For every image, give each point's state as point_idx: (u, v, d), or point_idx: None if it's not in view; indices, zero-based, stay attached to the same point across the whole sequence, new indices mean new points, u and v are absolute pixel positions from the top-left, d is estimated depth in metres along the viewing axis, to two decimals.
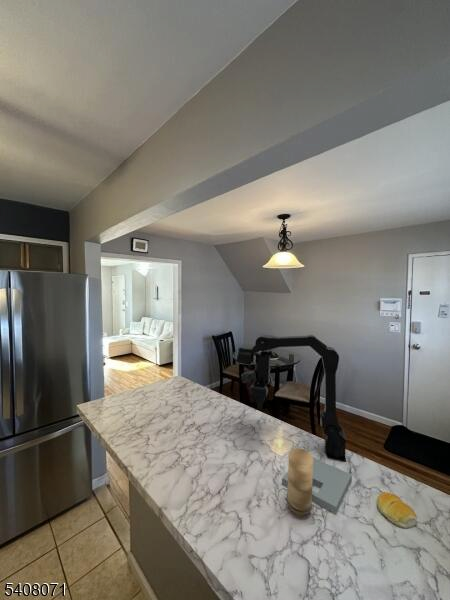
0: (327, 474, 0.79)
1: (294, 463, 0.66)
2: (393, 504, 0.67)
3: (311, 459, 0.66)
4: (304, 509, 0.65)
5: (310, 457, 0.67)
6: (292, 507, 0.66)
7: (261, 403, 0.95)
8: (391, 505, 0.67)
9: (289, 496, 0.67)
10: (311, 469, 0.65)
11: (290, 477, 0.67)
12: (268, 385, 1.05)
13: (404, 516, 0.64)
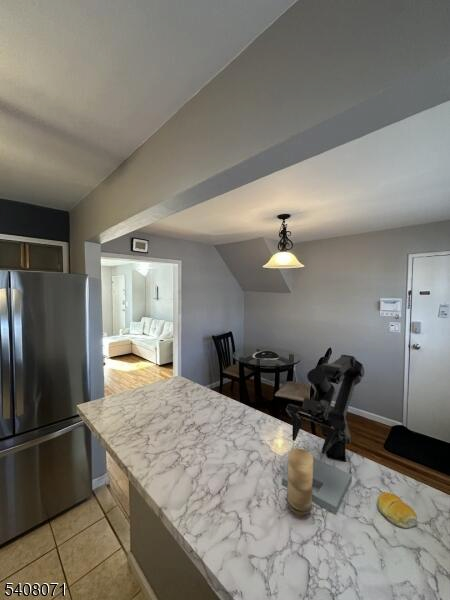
0: (327, 474, 0.79)
1: (294, 463, 0.66)
2: (393, 504, 0.67)
3: (311, 459, 0.66)
4: (304, 509, 0.65)
5: (310, 457, 0.67)
6: (292, 507, 0.66)
7: (329, 446, 0.73)
8: (391, 505, 0.67)
9: (289, 496, 0.67)
10: (311, 469, 0.65)
11: (290, 477, 0.67)
12: (300, 423, 0.82)
13: (404, 516, 0.64)
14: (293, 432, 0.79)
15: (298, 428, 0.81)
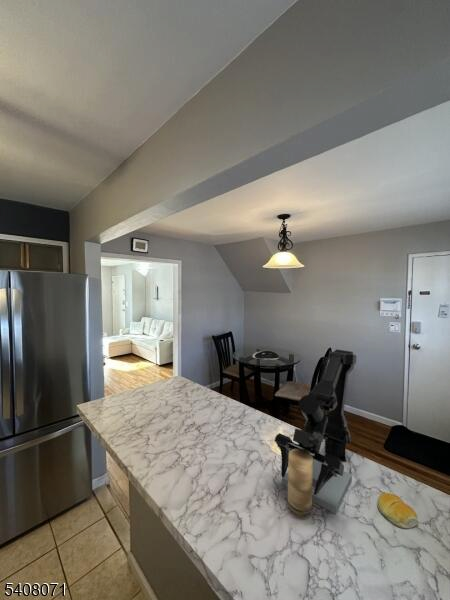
0: None
1: (294, 463, 0.66)
2: (394, 505, 0.67)
3: (311, 459, 0.66)
4: (304, 509, 0.65)
5: (310, 457, 0.67)
6: (292, 507, 0.66)
7: (322, 485, 0.65)
8: (392, 506, 0.67)
9: (289, 496, 0.67)
10: (311, 469, 0.65)
11: (290, 477, 0.67)
12: None
13: (405, 517, 0.64)
14: (282, 467, 0.71)
15: (287, 462, 0.73)
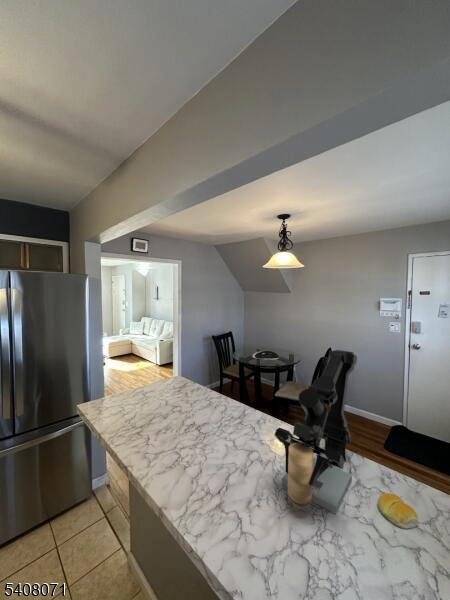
0: (327, 474, 0.79)
1: (294, 457, 0.65)
2: (394, 505, 0.66)
3: (311, 453, 0.66)
4: (304, 502, 0.65)
5: (310, 451, 0.67)
6: (292, 500, 0.66)
7: (317, 476, 0.66)
8: (392, 506, 0.67)
9: (289, 490, 0.67)
10: (311, 463, 0.65)
11: (290, 471, 0.66)
12: None
13: (405, 517, 0.63)
14: (286, 463, 0.70)
15: None
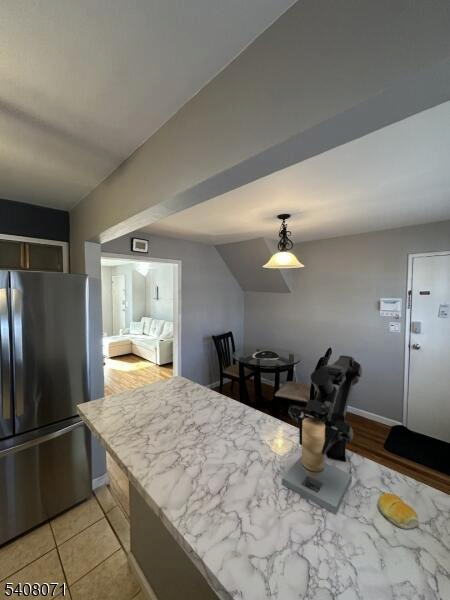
0: (327, 474, 0.79)
1: (308, 429, 0.72)
2: (394, 505, 0.66)
3: (323, 426, 0.73)
4: (317, 470, 0.72)
5: (322, 424, 0.74)
6: (306, 468, 0.73)
7: (329, 446, 0.73)
8: (392, 506, 0.66)
9: (303, 459, 0.74)
10: (323, 434, 0.72)
11: (304, 442, 0.73)
12: None
13: (406, 517, 0.63)
14: (300, 436, 0.77)
15: None
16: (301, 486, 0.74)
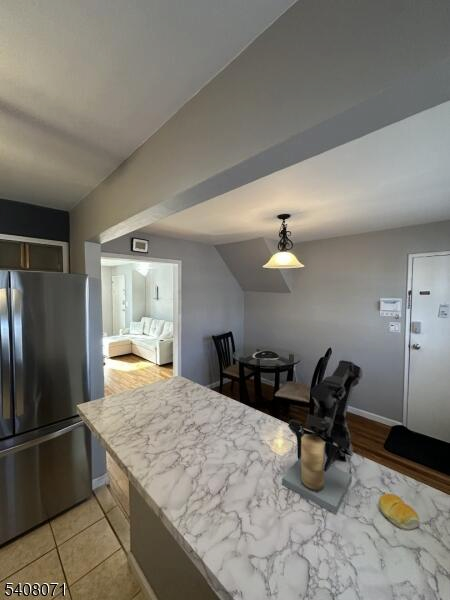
0: (327, 474, 0.79)
1: (307, 447, 0.73)
2: (395, 506, 0.66)
3: (322, 443, 0.73)
4: (317, 487, 0.72)
5: (321, 441, 0.74)
6: (306, 486, 0.73)
7: (331, 463, 0.73)
8: (393, 507, 0.66)
9: (303, 477, 0.74)
10: (322, 451, 0.73)
11: (303, 459, 0.74)
12: None
13: (406, 518, 0.63)
14: (298, 450, 0.77)
15: None
16: (301, 486, 0.74)
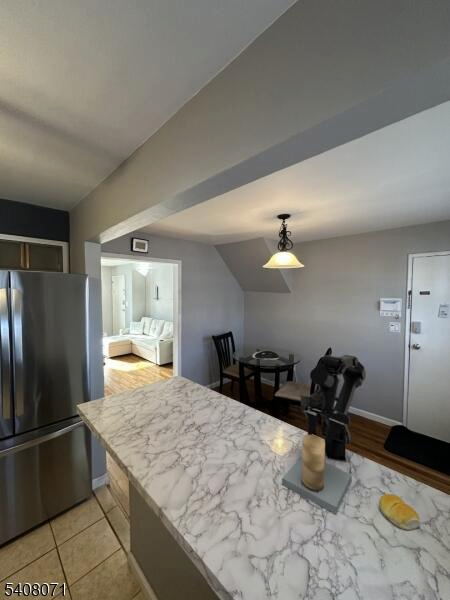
0: (327, 474, 0.79)
1: (308, 447, 0.73)
2: (395, 506, 0.66)
3: (323, 443, 0.73)
4: (317, 488, 0.72)
5: (322, 441, 0.74)
6: (306, 486, 0.73)
7: (332, 436, 0.76)
8: (394, 507, 0.66)
9: (303, 477, 0.74)
10: (323, 452, 0.73)
11: (304, 459, 0.74)
12: (317, 418, 0.88)
13: (407, 518, 0.63)
14: (307, 428, 0.86)
15: (314, 423, 0.86)
16: (301, 486, 0.74)
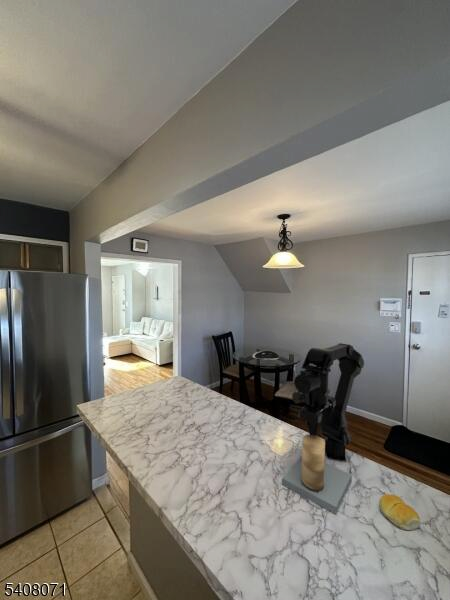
0: (327, 474, 0.79)
1: (308, 447, 0.73)
2: (396, 506, 0.66)
3: (323, 443, 0.73)
4: (317, 488, 0.72)
5: (322, 441, 0.74)
6: (306, 486, 0.73)
7: (314, 431, 0.79)
8: (394, 507, 0.66)
9: (303, 477, 0.74)
10: (323, 452, 0.73)
11: (304, 459, 0.74)
12: (329, 410, 0.86)
13: (407, 518, 0.63)
14: None
15: (325, 415, 0.87)
16: (301, 486, 0.74)
